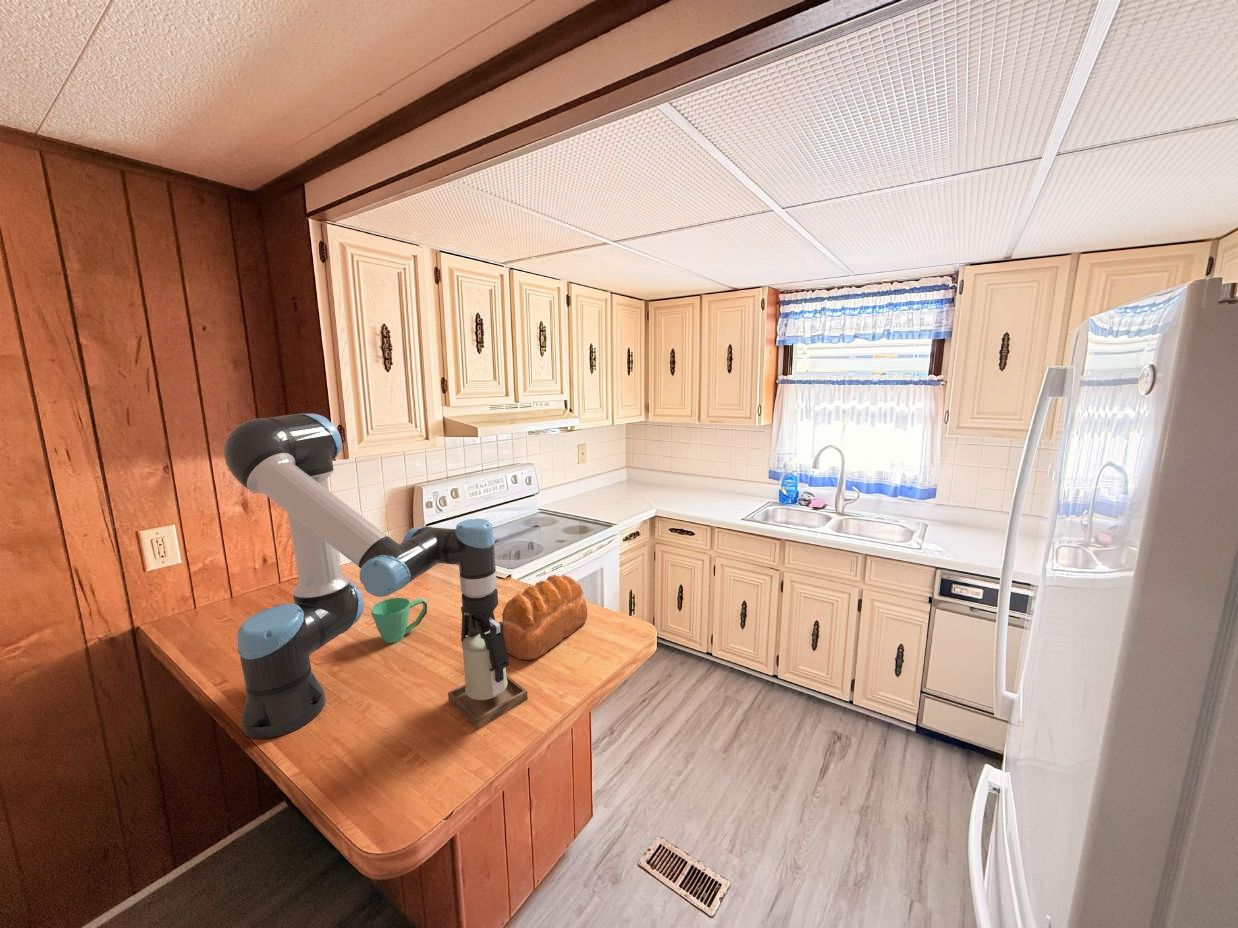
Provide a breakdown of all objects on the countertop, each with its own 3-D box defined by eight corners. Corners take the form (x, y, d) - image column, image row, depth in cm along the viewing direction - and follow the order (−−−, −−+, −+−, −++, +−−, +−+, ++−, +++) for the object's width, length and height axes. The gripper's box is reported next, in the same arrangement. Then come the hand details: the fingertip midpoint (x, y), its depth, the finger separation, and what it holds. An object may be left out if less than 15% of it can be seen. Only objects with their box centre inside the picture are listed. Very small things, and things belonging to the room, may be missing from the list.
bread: (493, 650, 129) (489, 597, 126) (557, 608, 151) (555, 562, 148) (532, 666, 122) (529, 610, 119) (593, 620, 143) (591, 572, 140)
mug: (380, 652, 128) (375, 618, 126) (371, 637, 136) (366, 604, 134) (435, 633, 138) (432, 601, 136) (424, 619, 145) (420, 589, 143)
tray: (477, 728, 101) (476, 720, 100) (448, 700, 109) (447, 692, 109) (527, 698, 109) (527, 690, 109) (497, 675, 118) (496, 667, 118)
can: (485, 705, 102) (481, 655, 100) (456, 690, 107) (452, 642, 105) (516, 681, 110) (513, 634, 108) (487, 669, 115) (484, 623, 113)
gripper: (522, 600, 99) (528, 696, 104) (470, 571, 114) (476, 656, 119) (490, 613, 94) (498, 714, 99) (439, 581, 109) (448, 670, 113)
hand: (486, 682), depth 109 cm, fingers closed on can, 9 cm apart
